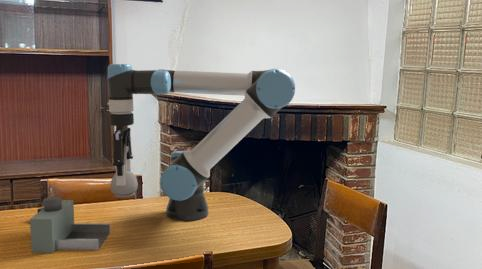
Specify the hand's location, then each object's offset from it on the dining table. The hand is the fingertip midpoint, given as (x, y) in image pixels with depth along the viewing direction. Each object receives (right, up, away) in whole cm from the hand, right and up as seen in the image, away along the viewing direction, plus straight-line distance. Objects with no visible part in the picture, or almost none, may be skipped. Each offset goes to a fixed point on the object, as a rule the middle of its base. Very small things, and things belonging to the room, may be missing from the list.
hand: (124, 181), depth 148 cm
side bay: (-9, -17, -11) cm, 22 cm away
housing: (-18, -17, -11) cm, 27 cm away
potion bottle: (0, -4, +1) cm, 5 cm away
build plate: (-29, -15, +7) cm, 33 cm away
